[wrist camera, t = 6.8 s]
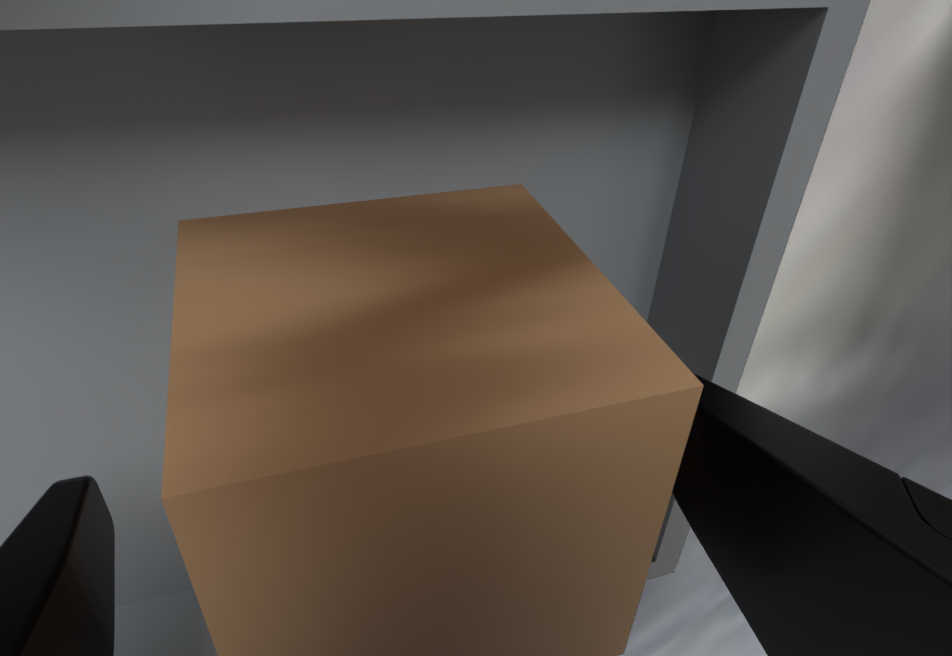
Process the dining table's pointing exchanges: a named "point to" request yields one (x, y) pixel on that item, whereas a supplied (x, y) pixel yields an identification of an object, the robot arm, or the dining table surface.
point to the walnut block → (414, 431)
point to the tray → (370, 191)
